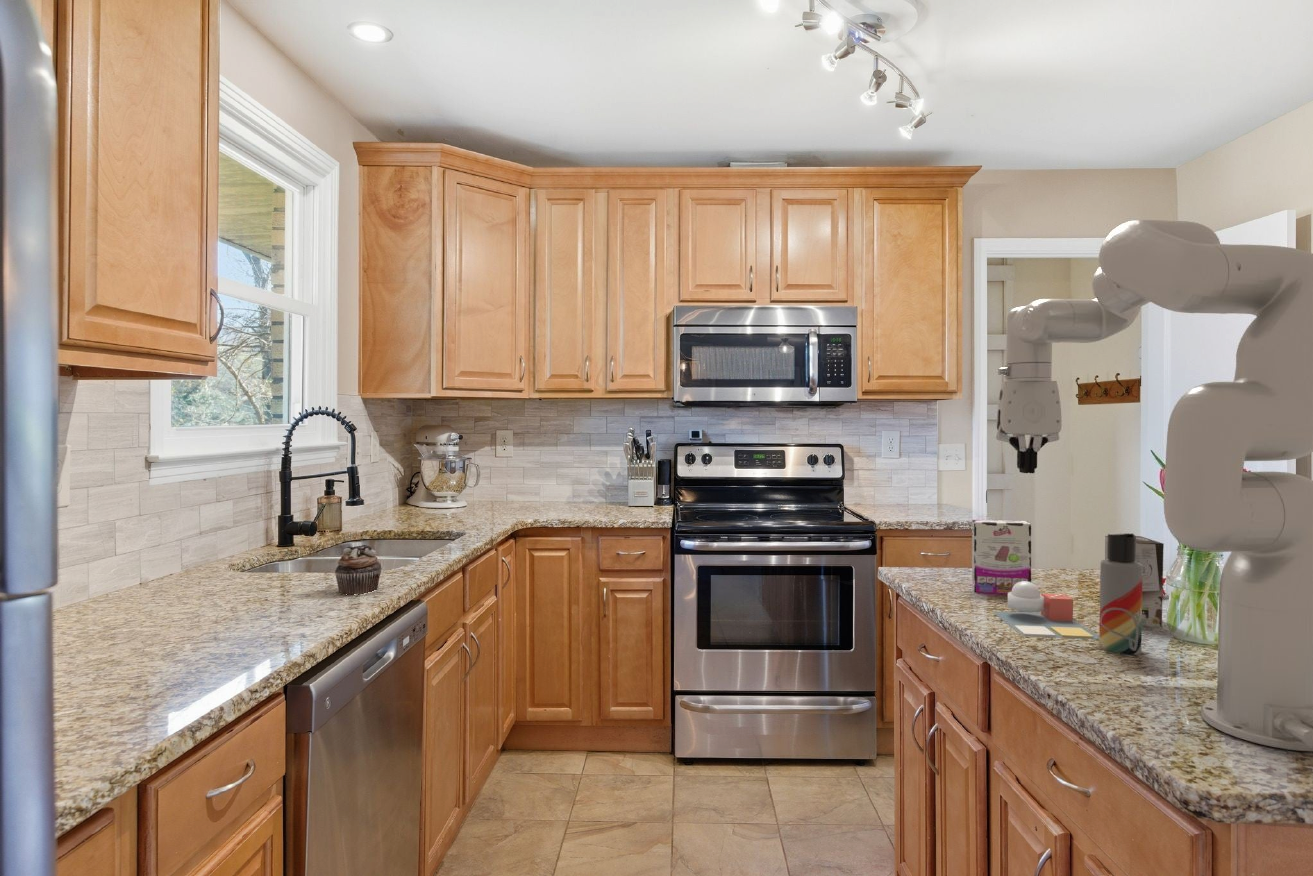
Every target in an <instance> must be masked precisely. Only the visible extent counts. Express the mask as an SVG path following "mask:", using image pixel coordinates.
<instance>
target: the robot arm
mask: <svg viewBox="0 0 1313 876" xmlns="http://www.w3.org/2000/svg"><path fill="white" fill-rule="evenodd" d="M1098 265H1099V267H1098V268H1097V270H1096V271H1095V272H1094V274H1093V277H1092V281H1091V282H1092V283H1091V287H1092V291H1093V294H1094V296H1095V297H1094V299H1080V298H1079V299H1077V298H1076V299H1075V298H1042V299H1041V298H1040V299H1036V300H1034V301H1032V302H1030V303H1029V304H1027V305H1024V306H1018V307H1015V308H1012V309H1011V310H1010V311H1009V312H1008V313H1007V315H1006V357H1005V358H1006V360H1005V361H1006V363H1005V365H1004V366H1003V367H998V369H997V374H998V376H1002V377H1003V376H1004V379H1005V381H1002V383H1001V386H1000V390H999V397H998V401H997V402H998V403H997V411H996V429H997V432H996V436H995V439H996V440H997V441H1001V442H1005V443H1008V444H1010V446H1012V448H1013V449H1014V450H1015V451H1016V452H1017V453H1016V467H1017V469H1018V470H1019V473H1021V474H1035V472H1036V469H1037V468H1038V452H1040V451H1041V448H1043V447H1044V446H1045V445H1046V444H1047V443H1048V444H1049V443H1053V442H1057V441H1059V440H1060V434H1059V433H1060V432H1061V431H1062V425H1063V424H1062V422H1063V421H1062V408H1061V407H1062V405H1061V398H1060V390H1059V387H1058V381H1057V380H1052V377H1053V376H1052V373H1053V372H1052V369H1053V368H1052V367H1053V366H1052V365H1053V364H1052V363H1053V344H1055V343H1058V344H1059V343H1067V344H1068V343H1073V344H1074V343H1075V344H1077V343H1079V344H1090V343H1095V342H1099V341H1103V340H1105V339H1107V338H1109V337H1112V336H1114V335H1116V334H1119V333H1120V332H1123V331H1125V330H1126V329H1128V328H1129V327H1130V326H1131V325H1132V324H1133V323H1134V321H1135V320H1136V319H1137V317H1138V315H1139V313H1140V312H1141V308H1142V307H1143V306H1145V305H1147V304H1149V303H1153V304H1154V305H1156V306H1158V307H1160V308H1163V309H1165V310H1168V311H1172V312H1175V313H1183V314H1184V313H1185V314H1186V313H1187V314H1221V315H1222V314H1223V315H1225V314H1227V315H1228V314H1240V315H1243V314H1244V315H1253V316H1256V317H1255V318H1254V319H1253V320H1252V321H1251V323H1250V324H1249V325H1248V326H1247V328H1246V330H1245V331H1243V335H1242V336H1241V338H1240V340H1239V343H1238V345H1237V348H1236V354H1235V371H1234V378H1233V381H1213V382H1207V383H1201V384H1199V385H1197V386H1194V387H1192V388H1190V389H1189V390H1188V391H1187V392H1185V393H1184V394H1183V395H1182V396H1181V397H1180V398H1179V399H1178V401H1177V402H1176V404H1175V405H1174V407H1173V409H1172V411H1171V412H1170V413H1171V414H1170V417H1169V420H1168V424H1167V432H1166V433H1167V434H1166V449H1165V464H1164V465H1165V469H1164V483H1163V484H1164V485H1163V513H1164V519H1165V523H1166V525H1167V528H1168V530H1169V531H1170V533H1171V535H1172V536H1173V537H1174V538H1175V540H1176V541H1177V542H1178V543H1180V544H1181V545H1183V546H1185V547H1187V548H1189V549H1191V550H1195V551H1198V552H1199V551H1200V552H1205V553H1206V552H1207V553H1208V552H1210V553H1212V552H1213V553H1222V552H1223V553H1225V552H1226V553H1227V552H1228V553H1229V552H1230V553H1229V555H1228V557H1227V560H1226V561H1225V563H1224V566H1223V568H1222V571H1221V575H1220V578H1219V579H1220V580H1219V590H1218V592H1219V595H1218V596H1219V598H1218V624H1217V625H1218V632H1217V639H1218V640H1217V681H1216V683H1217V686H1216V687H1217V688H1216V690H1217V691H1216V700H1211V701H1208V702H1206V703H1203V704H1202V706H1201V711H1200V714H1201V718H1202V719H1203V720H1204V722H1206V723H1207V724H1208V725H1210V726H1211V727H1213V728H1214V729H1216V730H1218V731H1220V732H1223V733H1225V734H1227V735H1230V736H1233V737H1235V738H1236V739H1237V738H1238V739H1241V740H1245V741H1248V742H1250V743H1255V744H1259V745H1262V746H1267V747H1272V748H1277V749H1282V750H1290V751H1297V752H1298V751H1300V752H1313V479H1310V478H1308V477H1307V476H1303V475H1301V474H1296V473H1292V472H1285V471H1244V466H1245V462H1271V461H1272V462H1274V461H1275V462H1279V461H1290V460H1297V459H1301V458H1303V457H1307V456H1309V455H1311V454H1312V453H1313V253H1312V252H1310V251H1306V250H1303V249H1299V248H1294V247H1288V246H1287V247H1286V246H1281V245H1280V246H1279V245H1269V244H1268V245H1267V244H1266V245H1265V244H1223V243H1221V241H1220V238H1219V237H1218V235H1217V234H1216V233H1215V232H1214V231H1213V230H1212V228H1209V227H1208V226H1206V225H1203V224H1202V223H1199V222H1194V221H1186V220H1160V219H1159V220H1158V219H1157V220H1156V219H1136V220H1135V219H1134V220H1130V221H1126V222H1125V223H1122V224H1120V225H1119V226H1116V228H1114V229H1113V230H1111V232H1110V233H1109V234H1108V235H1107V236H1106V238H1105V239H1104V241H1103V242H1102V245H1101V246H1100V250H1099V253H1098ZM1026 436H1029V439H1028V444H1027V442H1026V441H1027V440H1026Z"/></svg>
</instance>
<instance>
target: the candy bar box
mask: <svg viewBox="0 0 1313 876" xmlns="http://www.w3.org/2000/svg"><path fill="white" fill-rule="evenodd" d="M1021 581H1028V582H1031V583H1032V523H1030V522H1029V521H1027V520H1006V519H1005V520H1003V519H1002V520H1001V519H999V520H998V519H972V520H971V590H972V592H973V593H976V594H977V593H978V594H988V595H989V594H991V595H1007V596H1008V593H1009V592H1011V591H1012V588H1013V586H1014V585H1015V584H1016V583H1018V582H1021Z"/></svg>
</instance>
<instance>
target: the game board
mask: <svg viewBox="0 0 1313 876" xmlns="http://www.w3.org/2000/svg"><path fill="white" fill-rule="evenodd" d="M1040 595H1042V596H1044V610H1043V611H1042V612H1023V611H997V610H996V611H991V613H993V614H994V615H996V616H997V617H998V618H999V619H1000V620H1002V622H1005V624H1007V626H1009V627H1010V628H1012V630H1013V631H1015V632H1016V633H1018V634H1019V635H1020V636H1021V637H1029V638H1030V637H1031V638H1051V639H1053V638H1054V639H1055V638H1056V639H1074V640H1075V639H1076V640H1077V639H1078V640H1079V639H1080V640H1082V639H1083V640H1099V634H1097V633H1095V632H1094V631H1092V630H1090V629H1089V628H1087V627H1086V626H1085V625H1083V624H1082V623H1079V622H1078V621H1076V620H1075V619H1074V599H1073V598H1072V597H1070V596H1068V595H1067V594H1064V593H1048V592H1047V593H1045V592H1044V593H1042V592H1040ZM1050 627H1072V628H1082V629H1083V630H1085V631H1086V632H1088V633H1089V634H1091V635H1093V636H1094V638H1078V637H1062V636H1060V635H1059V634H1057V633H1056V632H1055V631H1053V630H1052V629H1050Z"/></svg>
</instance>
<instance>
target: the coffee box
mask: <svg viewBox="0 0 1313 876" xmlns="http://www.w3.org/2000/svg"><path fill="white" fill-rule="evenodd" d="M1135 536H1136V561H1135V562H1137V563H1140V564H1142V567H1143V582H1142V627H1153V628H1155V627H1157V628H1158V627H1159V628H1162V627H1163V596H1162V594H1163V593H1162V592H1163V589H1164V585H1163V578H1164V547H1165V546H1164V544H1165V543H1162V542H1160V541H1157V540H1153V539H1150V538H1147V537H1143V536H1139V535H1135ZM1104 538H1105V540H1104V549H1105V550H1104V560H1108V559H1107V551H1108V535H1105V536H1104Z"/></svg>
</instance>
